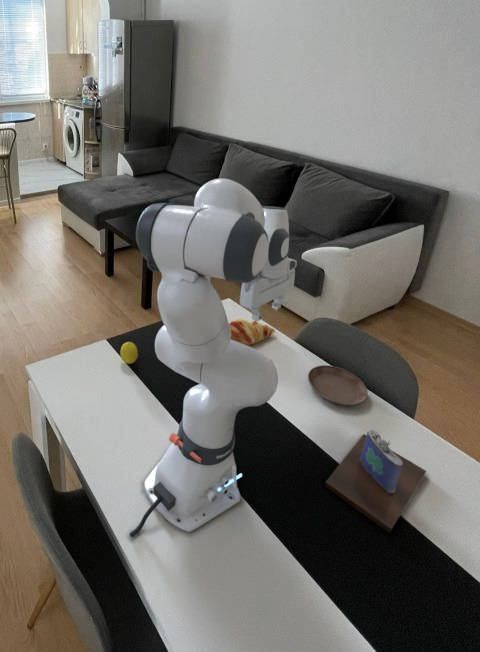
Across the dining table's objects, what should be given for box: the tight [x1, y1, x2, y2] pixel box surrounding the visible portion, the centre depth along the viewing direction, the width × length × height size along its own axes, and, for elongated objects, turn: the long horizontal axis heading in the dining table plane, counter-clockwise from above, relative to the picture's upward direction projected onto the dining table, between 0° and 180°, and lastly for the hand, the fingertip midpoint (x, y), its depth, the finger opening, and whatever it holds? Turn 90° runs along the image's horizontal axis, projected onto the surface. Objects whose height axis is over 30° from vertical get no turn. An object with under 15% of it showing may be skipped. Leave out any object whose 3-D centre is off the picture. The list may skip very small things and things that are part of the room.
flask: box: [360, 429, 403, 494], centre depth 96 cm, size 9×3×11 cm, turn 6°
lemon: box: [120, 341, 139, 365], centre depth 137 cm, size 6×6×8 cm
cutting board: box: [324, 433, 427, 534], centre depth 97 cm, size 20×13×2 cm, turn 127°
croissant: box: [229, 318, 276, 346], centre depth 145 cm, size 21×10×8 cm, turn 97°
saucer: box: [307, 364, 369, 407], centre depth 122 cm, size 15×15×3 cm
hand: (266, 314), depth 115 cm, fingers open, 8 cm apart
